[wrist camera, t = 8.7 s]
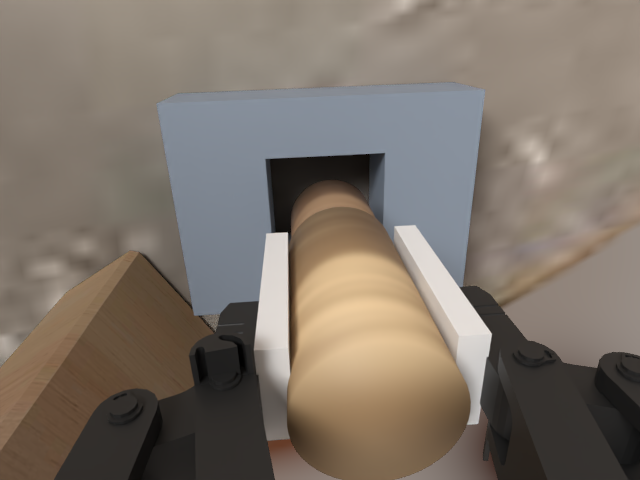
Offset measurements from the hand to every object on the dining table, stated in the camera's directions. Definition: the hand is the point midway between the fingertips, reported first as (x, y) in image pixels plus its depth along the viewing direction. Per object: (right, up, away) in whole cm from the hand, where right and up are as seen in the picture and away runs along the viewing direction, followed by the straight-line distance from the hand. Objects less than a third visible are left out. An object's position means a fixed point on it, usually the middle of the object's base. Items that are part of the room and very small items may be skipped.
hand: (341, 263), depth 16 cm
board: (-1, +4, +8) cm, 9 cm away
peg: (0, +2, +4) cm, 5 cm away
